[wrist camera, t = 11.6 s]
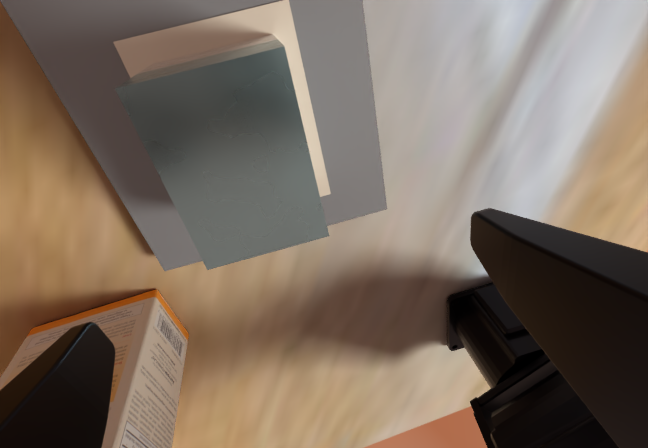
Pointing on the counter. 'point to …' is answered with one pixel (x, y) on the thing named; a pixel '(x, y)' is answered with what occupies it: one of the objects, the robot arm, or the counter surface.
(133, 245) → the counter surface
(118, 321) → the supplement box
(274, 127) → the block
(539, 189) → the counter surface
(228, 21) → the stand
